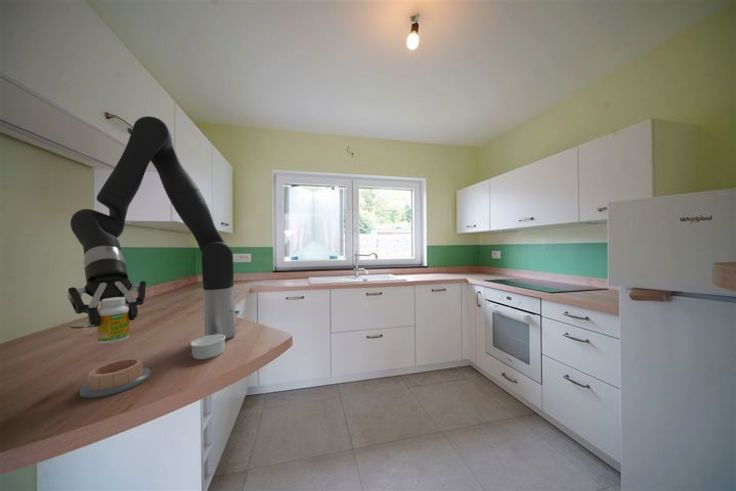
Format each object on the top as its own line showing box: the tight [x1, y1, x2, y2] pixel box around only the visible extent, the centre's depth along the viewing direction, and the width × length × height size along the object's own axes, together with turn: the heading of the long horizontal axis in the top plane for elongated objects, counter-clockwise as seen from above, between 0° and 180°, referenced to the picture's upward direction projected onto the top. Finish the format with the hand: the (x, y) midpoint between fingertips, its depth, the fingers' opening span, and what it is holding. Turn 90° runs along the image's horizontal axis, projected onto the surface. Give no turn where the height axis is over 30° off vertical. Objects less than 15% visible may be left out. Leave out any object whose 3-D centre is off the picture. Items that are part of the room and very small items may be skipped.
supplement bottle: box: [97, 297, 131, 344], centre depth 61 cm, size 5×5×10 cm
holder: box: [79, 357, 151, 399], centre depth 61 cm, size 12×12×4 cm
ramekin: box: [189, 334, 226, 360], centre depth 77 cm, size 9×9×4 cm
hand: (115, 321), depth 60 cm, fingers closed on supplement bottle, 5 cm apart
